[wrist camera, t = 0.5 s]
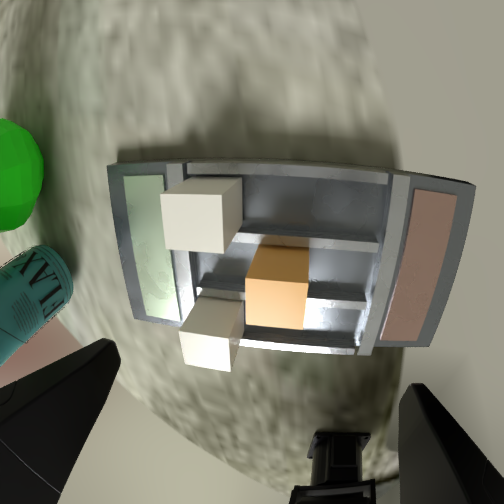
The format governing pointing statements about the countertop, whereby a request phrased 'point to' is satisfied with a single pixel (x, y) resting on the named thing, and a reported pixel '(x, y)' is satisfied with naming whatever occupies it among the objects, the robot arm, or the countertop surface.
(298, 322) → the block
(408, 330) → the panel
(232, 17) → the countertop surface
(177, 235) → the block
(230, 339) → the block
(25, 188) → the plastic bottle
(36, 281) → the beverage bottle
